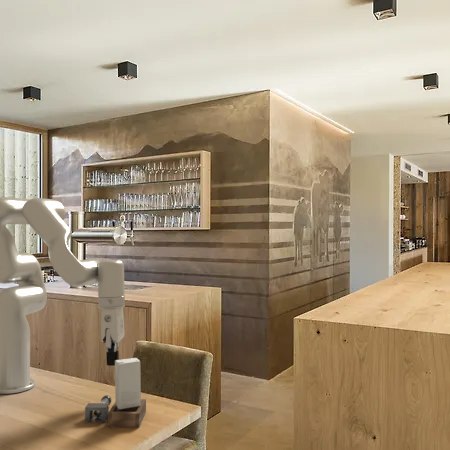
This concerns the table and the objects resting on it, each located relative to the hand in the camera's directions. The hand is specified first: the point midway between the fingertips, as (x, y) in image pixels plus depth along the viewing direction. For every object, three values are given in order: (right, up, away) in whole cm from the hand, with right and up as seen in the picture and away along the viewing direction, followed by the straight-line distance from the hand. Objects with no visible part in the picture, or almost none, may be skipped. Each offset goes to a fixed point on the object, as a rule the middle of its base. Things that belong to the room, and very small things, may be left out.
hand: (112, 364), depth 140 cm
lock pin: (-1, -10, -9) cm, 14 cm away
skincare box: (+7, -7, -14) cm, 17 cm away
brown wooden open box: (+7, -10, -14) cm, 19 cm away
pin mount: (-1, -10, -14) cm, 18 cm away
